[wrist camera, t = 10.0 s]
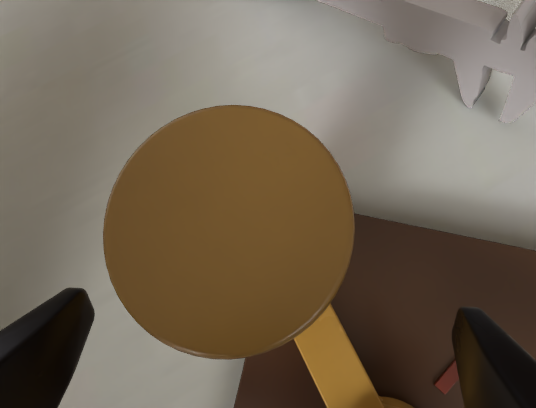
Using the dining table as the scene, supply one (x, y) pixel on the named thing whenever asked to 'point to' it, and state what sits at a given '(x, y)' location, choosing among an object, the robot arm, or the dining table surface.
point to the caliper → (464, 41)
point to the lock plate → (406, 315)
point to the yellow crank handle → (239, 244)
